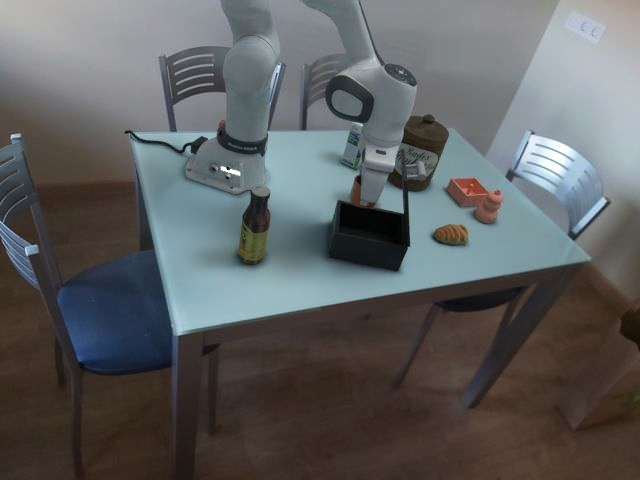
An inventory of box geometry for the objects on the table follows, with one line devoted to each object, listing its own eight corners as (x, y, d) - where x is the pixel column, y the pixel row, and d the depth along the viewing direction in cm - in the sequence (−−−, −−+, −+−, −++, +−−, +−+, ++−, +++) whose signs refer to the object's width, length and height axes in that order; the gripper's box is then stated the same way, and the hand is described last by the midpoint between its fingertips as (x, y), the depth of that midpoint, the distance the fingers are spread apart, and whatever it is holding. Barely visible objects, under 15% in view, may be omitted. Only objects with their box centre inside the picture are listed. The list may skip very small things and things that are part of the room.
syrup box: (340, 162, 150) (351, 121, 140) (349, 155, 154) (360, 115, 144) (355, 170, 148) (367, 129, 138) (364, 163, 152) (376, 123, 143)
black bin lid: (403, 181, 99) (427, 179, 98) (400, 148, 109) (422, 146, 109) (406, 247, 111) (428, 245, 110) (403, 212, 121) (423, 210, 120)
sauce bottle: (238, 246, 112) (246, 177, 99) (264, 248, 113) (275, 181, 100) (236, 265, 107) (244, 196, 94) (263, 268, 108) (275, 199, 95)
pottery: (446, 189, 150) (457, 163, 143) (469, 187, 153) (482, 162, 147) (477, 225, 138) (492, 199, 132) (502, 223, 141) (517, 197, 135)
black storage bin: (327, 257, 115) (334, 233, 110) (331, 223, 125) (337, 199, 120) (398, 271, 116) (408, 248, 111) (395, 236, 126) (404, 213, 121)
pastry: (439, 247, 127) (444, 236, 124) (428, 231, 131) (433, 220, 129) (468, 245, 130) (473, 234, 127) (456, 229, 134) (461, 219, 132)
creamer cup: (348, 205, 109) (354, 185, 105) (349, 191, 113) (355, 172, 109) (372, 210, 109) (379, 191, 105) (373, 196, 113) (379, 177, 110)
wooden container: (381, 182, 145) (403, 118, 131) (387, 160, 156) (408, 98, 142) (427, 196, 144) (454, 133, 130) (430, 173, 156) (455, 112, 141)
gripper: (365, 118, 109) (351, 168, 117) (364, 164, 93) (348, 218, 102) (391, 124, 109) (376, 173, 118) (395, 170, 93) (376, 223, 102)
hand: (363, 194), depth 110 cm, fingers closed on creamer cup, 6 cm apart
